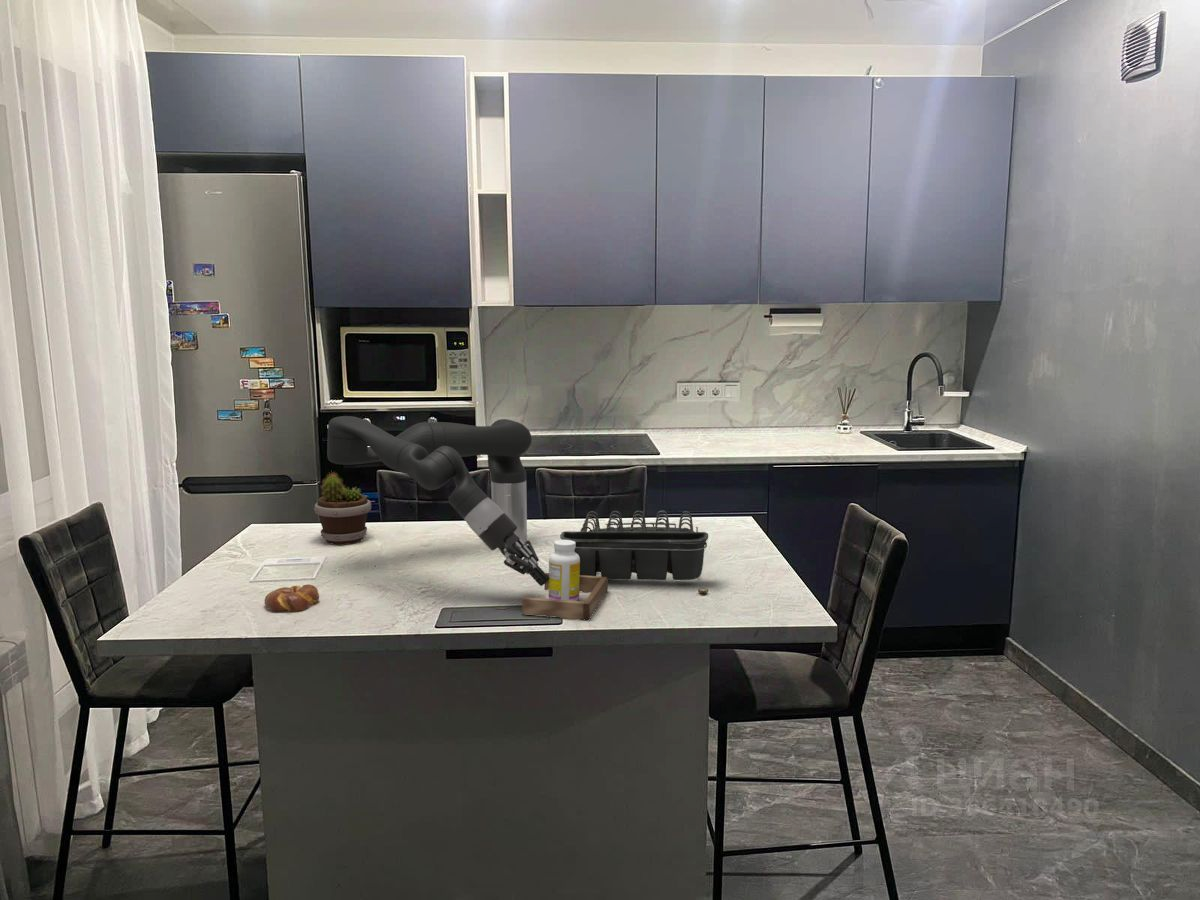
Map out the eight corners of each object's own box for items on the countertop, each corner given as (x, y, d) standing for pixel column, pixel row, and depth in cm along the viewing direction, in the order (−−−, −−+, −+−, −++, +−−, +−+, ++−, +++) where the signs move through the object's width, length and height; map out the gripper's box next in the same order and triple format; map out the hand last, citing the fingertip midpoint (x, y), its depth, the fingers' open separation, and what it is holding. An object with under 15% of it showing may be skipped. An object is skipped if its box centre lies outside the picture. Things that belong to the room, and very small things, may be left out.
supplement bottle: (578, 595, 196) (580, 538, 194) (579, 605, 190) (581, 546, 188) (548, 595, 196) (549, 538, 194) (548, 604, 189) (549, 545, 187)
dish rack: (557, 587, 203) (557, 535, 201) (580, 536, 246) (580, 494, 244) (707, 592, 200) (708, 539, 198) (704, 540, 243) (705, 496, 241)
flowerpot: (347, 530, 251) (344, 460, 248) (384, 539, 242) (381, 466, 239) (304, 541, 240) (300, 468, 236) (340, 550, 231) (337, 475, 227)
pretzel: (298, 593, 198) (297, 577, 198) (332, 601, 193) (332, 585, 192) (252, 608, 188) (251, 591, 188) (287, 617, 183) (286, 600, 182)
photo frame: (326, 555, 224) (314, 577, 207) (326, 559, 224) (315, 581, 207) (265, 558, 222) (248, 579, 204) (266, 562, 222) (249, 584, 205)
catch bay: (521, 615, 184) (521, 598, 183) (546, 587, 201) (545, 572, 201) (588, 620, 181) (588, 604, 180) (607, 592, 198) (607, 576, 198)
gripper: (489, 527, 199) (542, 584, 198) (467, 542, 186) (524, 603, 185) (511, 505, 197) (565, 563, 196) (491, 519, 184) (549, 580, 183)
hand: (545, 582), depth 191 cm, fingers closed
